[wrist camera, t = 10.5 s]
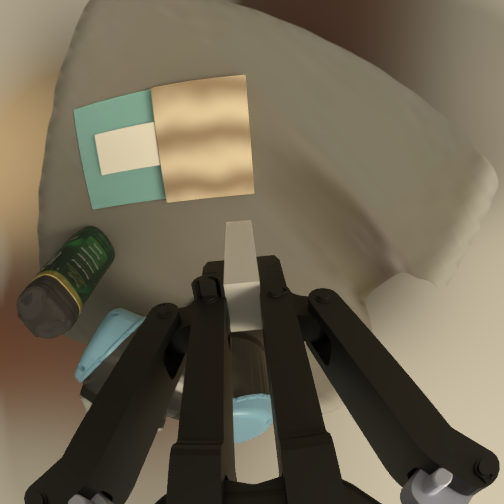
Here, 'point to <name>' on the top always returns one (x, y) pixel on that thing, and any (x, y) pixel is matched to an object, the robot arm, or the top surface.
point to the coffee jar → (65, 284)
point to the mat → (87, 126)
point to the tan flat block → (204, 138)
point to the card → (128, 148)
